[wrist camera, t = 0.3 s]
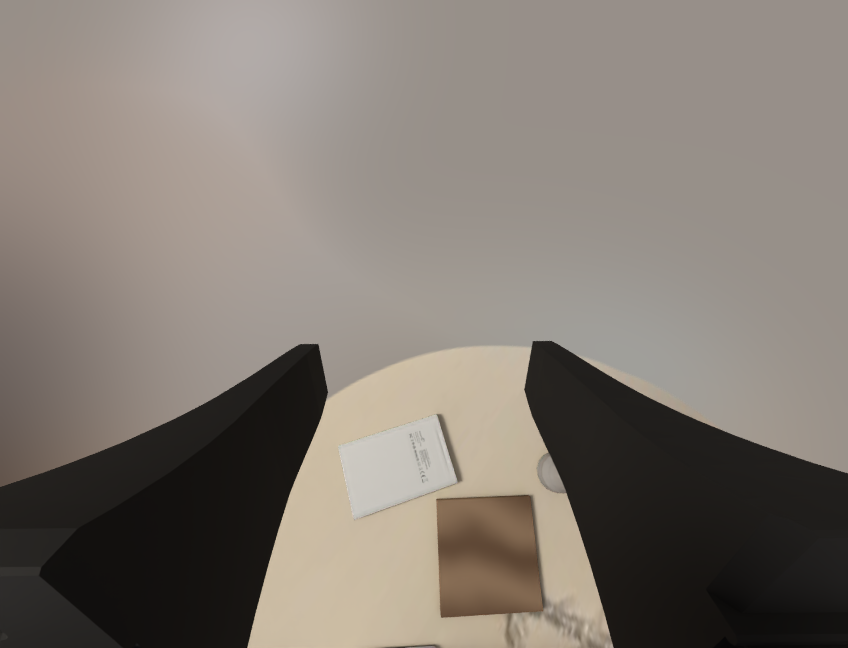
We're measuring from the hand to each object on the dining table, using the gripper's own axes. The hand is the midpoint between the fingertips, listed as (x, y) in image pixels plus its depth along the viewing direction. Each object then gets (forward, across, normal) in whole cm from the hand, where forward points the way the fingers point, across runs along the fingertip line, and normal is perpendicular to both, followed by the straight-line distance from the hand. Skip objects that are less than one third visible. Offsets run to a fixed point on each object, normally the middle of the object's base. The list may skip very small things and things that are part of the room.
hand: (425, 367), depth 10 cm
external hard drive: (+17, +4, +26) cm, 32 cm away
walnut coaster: (+10, -7, +33) cm, 35 cm away
